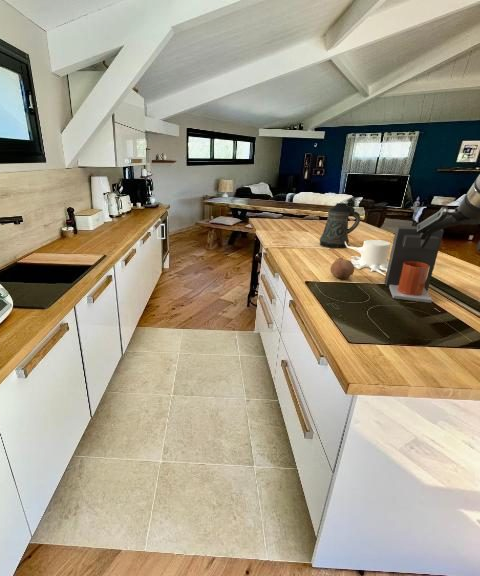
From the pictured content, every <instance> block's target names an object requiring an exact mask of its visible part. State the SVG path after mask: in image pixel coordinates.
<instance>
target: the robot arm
mask: <svg viewBox="0 0 480 576" xmlns="http://www.w3.org/2000/svg"><path fill="white" fill-rule="evenodd" d="M460 225H471V226H477V225H480V174H479V175H478V176H477V177H476V179H475V180H474V182H473V183H472V185H471V186H470V188H469V189H468V191H467V192H466V194H465V196H464V197H463V198H462V200H461V201H460V203H459V205H458V207H456V208H454V209H452V208H451V209H450V208H449V209H448V206H447V205H445V206H442V207H441V208H440V209H439V210H438V211H437V212H436V213H433V214H432V215H431V216H429V217H427V218H426V219H424V220H423V221H421V222H419V223H418V224H417V225H416V227H417V233H421V234H420V240H421V248H424V246H425V245H426V243H427V242H428V240H429V238H430V237H431V233H434V232H436V231H439V230H444V229H446V228H447V229H448V228H449V227H453V228H454V227H456V226H460ZM477 252H480V240H479V241H478V242H477Z"/></svg>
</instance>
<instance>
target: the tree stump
mask: <svg viewBox="0 0 480 576" xmlns="http://www.w3.org/2000/svg"><path fill="white" fill-rule="evenodd" d="M345 245H346V247H345V248H347V249H349V250H353V251H355V252H357V253H358V254H360V256H356V255H355V256H354V255H351V258H350V259H348V260H349V261H351V262H352V264H353V266H354V269H357V270H361V269H365V268H370V270H369V272H370V273H372V272H377V273H378V274H380V275H383V276H385V277H386V273H387V268H388V264H389V260H388V259H389V254H390V251H391V250H390V249H391V246H392V243H391V242H389V241H386V240H382V239H380V240H379V239H366V240H364V241H363V245H362V246H361V247H358V246H357V247H356V246H349V244H348V245H347V243H346V241H345ZM384 272H385V273H384Z"/></svg>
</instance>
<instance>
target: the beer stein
mask: <svg viewBox="0 0 480 576" xmlns="http://www.w3.org/2000/svg"><path fill="white" fill-rule="evenodd" d="M327 215H328V216H327V219H326V223H325V226H324V229H323V231H322V234H321V236H320V237H319V246H321V247H323V248H327V249H328V248H329V249H346V248H347V247H346V245H345V241H346V243H347V245H348V246H349V243H350V239H349V234H350V233H352V232H353V231H354V230H355V229H356V228H357V227H358V226H359V224H360V222H361V215H360V214H359V212H357V211H356V209H355V207H354V206H350V205H347V203H343V202H338V203H336V204H334V206H332V207H331V208H329V209H328V210H327ZM349 217H353V218H354V219H355V222H354V223H353V225H351V226H350V227H349Z"/></svg>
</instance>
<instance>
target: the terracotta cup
mask: <svg viewBox="0 0 480 576" xmlns="http://www.w3.org/2000/svg"><path fill="white" fill-rule="evenodd" d="M429 268H430V266H429V265H428V264H426V263H422V262H416V261H407V262H404V263H403V267H402V271H401V275H400V280H399V284H398V289H397V290H398V291H399V292H400V293H403V294H406V295H411V296H419V295H422V293H423V290H424V287H425V283H426V279H427V275H428V272H429Z"/></svg>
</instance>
